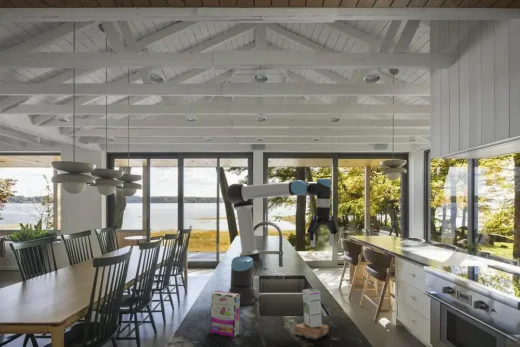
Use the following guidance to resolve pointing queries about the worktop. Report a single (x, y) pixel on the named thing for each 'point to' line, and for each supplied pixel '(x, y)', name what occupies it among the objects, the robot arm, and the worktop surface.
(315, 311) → the syrup box
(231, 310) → the candy bar box
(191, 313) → the worktop surface
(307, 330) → the wood block
